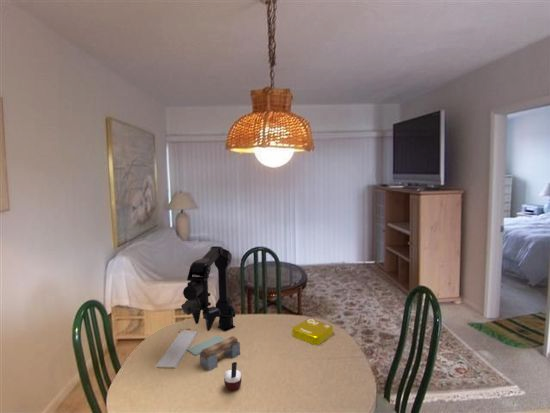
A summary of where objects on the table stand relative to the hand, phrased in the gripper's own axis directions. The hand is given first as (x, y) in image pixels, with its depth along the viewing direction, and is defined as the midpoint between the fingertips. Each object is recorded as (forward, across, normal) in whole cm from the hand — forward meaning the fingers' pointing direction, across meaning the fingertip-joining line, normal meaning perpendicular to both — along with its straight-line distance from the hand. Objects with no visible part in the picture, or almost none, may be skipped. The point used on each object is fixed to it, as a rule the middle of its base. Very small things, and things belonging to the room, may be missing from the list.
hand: (202, 327), depth 143 cm
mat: (+13, -7, +6) cm, 16 cm away
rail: (+9, +8, +3) cm, 12 cm away
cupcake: (+13, +26, -4) cm, 29 cm away
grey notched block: (+13, +8, -2) cm, 15 cm away
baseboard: (+14, -14, -5) cm, 20 cm away
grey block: (+13, +7, +9) cm, 18 cm away
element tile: (+14, +21, +47) cm, 53 cm away
